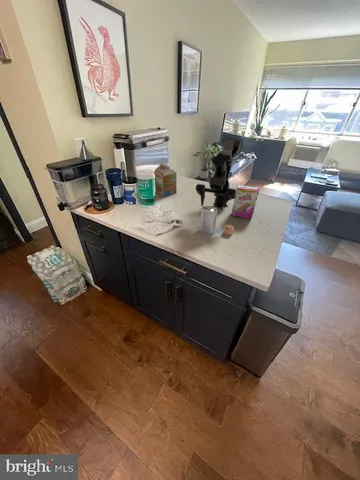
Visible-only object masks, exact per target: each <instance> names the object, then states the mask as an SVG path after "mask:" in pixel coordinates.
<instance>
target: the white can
mask: <svg viewBox="0 0 360 480" xmlns="http://www.w3.org/2000/svg"><path fill="white" fill-rule="evenodd" d="M201 207H202V208H201V210H200V211H201V212H200V222H199V224H200V225H199V226H200V231H199V233H200V234H202V233H203V234H206V235H210V234H213V233H214V232H215V226H216V224H217V218H218V217H217V216H218V209H217V208H218V207H215V206H212V205H205V206H201ZM210 236H211V235H210Z"/></svg>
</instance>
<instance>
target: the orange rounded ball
mask: <svg viewBox="0 0 360 480" xmlns="http://www.w3.org/2000/svg"><path fill="white" fill-rule="evenodd" d="M223 228H224V229H223V234H224V236H232V235H233V234H234V230H235V229H234V226H233V225H231V224H226V225H224V227H223Z"/></svg>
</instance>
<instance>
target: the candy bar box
mask: <svg viewBox="0 0 360 480" xmlns="http://www.w3.org/2000/svg"><path fill="white" fill-rule="evenodd" d="M235 190H236V195H235V199H233V206H232V210H231V216H232V217H238V218H241V219H247V220H252V218H253V215H254V211H255V207H256V203H257V199H258V196H259V191H260V188H259V187H257V186H247V185H241V184H238V185H236V188H235Z"/></svg>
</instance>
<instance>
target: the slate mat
mask: <svg viewBox="0 0 360 480" xmlns="http://www.w3.org/2000/svg"><path fill="white" fill-rule="evenodd" d="M195 228H196V229H197V230H198V231H199V232H200V225H197V226H195ZM222 233H223V232H222V231H221V230H220V229H219V228H218V227H217V226H216V225H215V232H214V233H213V234H210V235H206V234H203V233H201V235H202V236H203V237H205V238H206V237H210V236H213V235H218V234H222Z"/></svg>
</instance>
